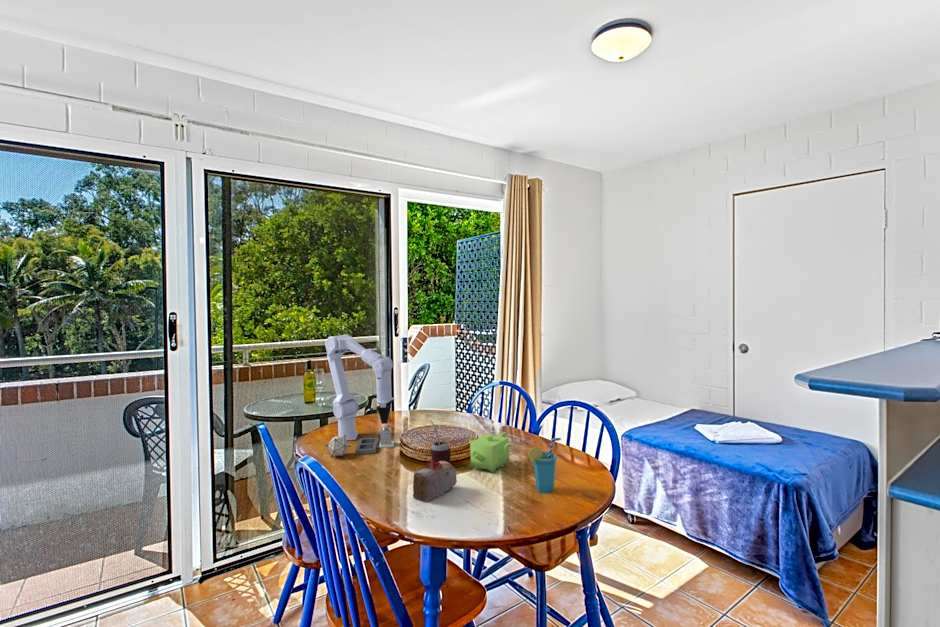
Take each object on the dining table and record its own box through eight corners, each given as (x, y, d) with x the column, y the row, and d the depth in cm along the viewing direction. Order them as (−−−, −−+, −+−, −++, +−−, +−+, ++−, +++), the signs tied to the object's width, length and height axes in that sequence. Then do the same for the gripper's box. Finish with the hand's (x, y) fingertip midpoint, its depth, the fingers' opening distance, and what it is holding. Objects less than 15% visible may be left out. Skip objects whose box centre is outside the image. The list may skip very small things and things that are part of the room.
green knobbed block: (505, 458, 181) (505, 427, 180) (517, 472, 167) (516, 439, 166) (465, 462, 178) (464, 431, 177) (473, 477, 164) (472, 444, 163)
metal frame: (360, 442, 204) (359, 438, 204) (378, 441, 205) (378, 437, 205) (355, 454, 189) (355, 450, 189) (375, 453, 190) (375, 449, 190)
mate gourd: (448, 470, 171) (446, 427, 170) (426, 469, 172) (424, 426, 171) (453, 462, 178) (451, 421, 177) (432, 461, 180) (430, 420, 179)
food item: (439, 483, 160) (438, 453, 159) (459, 488, 155) (458, 457, 155) (410, 498, 149) (409, 466, 148) (430, 504, 144) (429, 471, 144)
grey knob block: (381, 442, 202) (380, 426, 201) (391, 441, 202) (390, 425, 202) (380, 445, 198) (380, 429, 197) (391, 444, 198) (390, 428, 198)
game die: (339, 467, 187) (331, 452, 180) (325, 455, 191) (318, 440, 185) (357, 451, 192) (350, 435, 185) (344, 440, 196) (337, 424, 190)
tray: (379, 443, 203) (379, 441, 203) (394, 442, 203) (394, 440, 203) (378, 447, 197) (378, 446, 197) (393, 446, 197) (393, 445, 197)
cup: (551, 478, 160) (550, 433, 159) (571, 485, 154) (569, 438, 153) (522, 492, 151) (521, 443, 150) (542, 499, 145) (541, 449, 144)
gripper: (392, 390, 192) (394, 425, 193) (394, 383, 206) (396, 415, 207) (374, 391, 191) (376, 426, 192) (377, 384, 205) (379, 416, 206)
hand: (385, 420), depth 199 cm, fingers open, 7 cm apart
